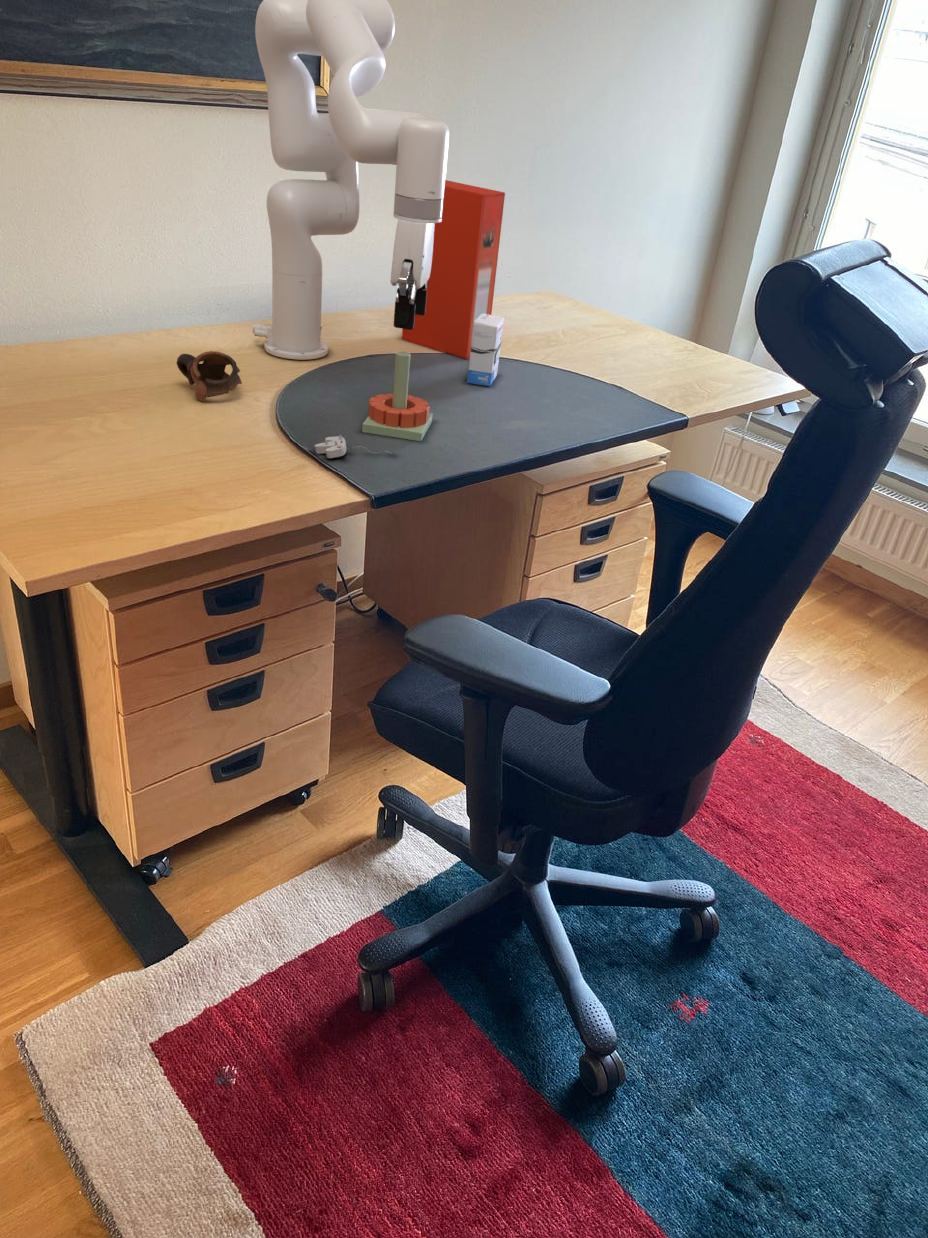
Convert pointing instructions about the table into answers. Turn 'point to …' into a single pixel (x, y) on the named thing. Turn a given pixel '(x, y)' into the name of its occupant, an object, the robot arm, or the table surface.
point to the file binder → (460, 269)
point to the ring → (398, 411)
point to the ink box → (485, 349)
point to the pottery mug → (209, 373)
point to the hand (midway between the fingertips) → (409, 320)
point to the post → (399, 405)
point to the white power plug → (333, 447)
